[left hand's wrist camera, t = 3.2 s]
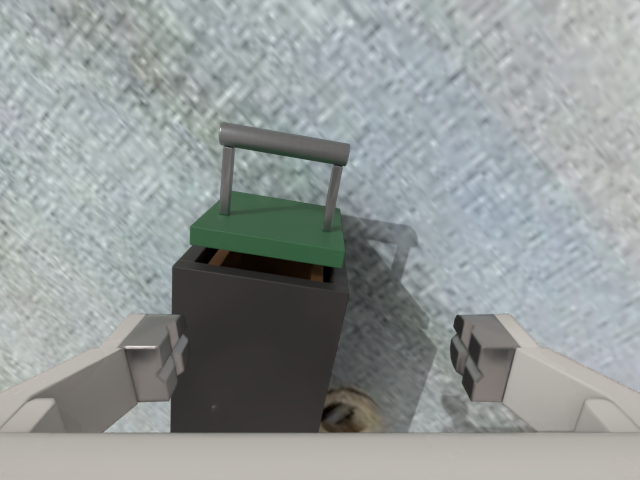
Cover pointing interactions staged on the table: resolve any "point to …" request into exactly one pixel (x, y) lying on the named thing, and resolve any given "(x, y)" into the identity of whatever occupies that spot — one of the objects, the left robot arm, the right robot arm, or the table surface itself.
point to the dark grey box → (254, 346)
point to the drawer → (274, 212)
